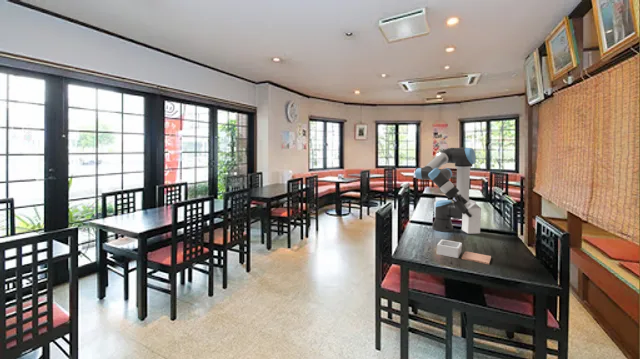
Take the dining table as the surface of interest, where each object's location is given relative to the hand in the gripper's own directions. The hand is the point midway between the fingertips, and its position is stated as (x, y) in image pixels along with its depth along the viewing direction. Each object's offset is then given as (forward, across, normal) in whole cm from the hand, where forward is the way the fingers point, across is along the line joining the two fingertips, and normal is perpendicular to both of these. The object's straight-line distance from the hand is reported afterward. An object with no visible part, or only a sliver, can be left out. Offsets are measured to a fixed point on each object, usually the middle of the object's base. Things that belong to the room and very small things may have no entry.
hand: (477, 219), depth 165 cm
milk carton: (+4, 0, -8) cm, 9 cm away
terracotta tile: (+17, -1, -16) cm, 24 cm away
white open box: (+7, -1, -27) cm, 28 cm away
